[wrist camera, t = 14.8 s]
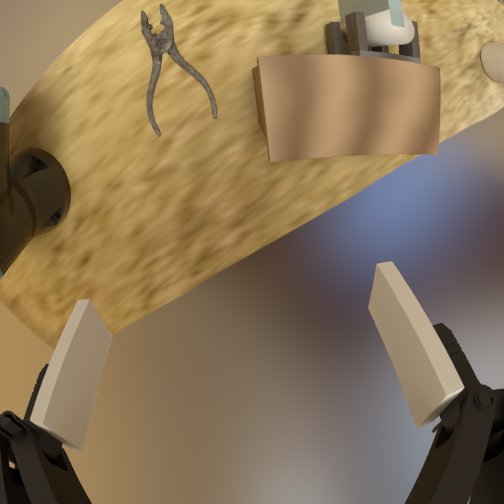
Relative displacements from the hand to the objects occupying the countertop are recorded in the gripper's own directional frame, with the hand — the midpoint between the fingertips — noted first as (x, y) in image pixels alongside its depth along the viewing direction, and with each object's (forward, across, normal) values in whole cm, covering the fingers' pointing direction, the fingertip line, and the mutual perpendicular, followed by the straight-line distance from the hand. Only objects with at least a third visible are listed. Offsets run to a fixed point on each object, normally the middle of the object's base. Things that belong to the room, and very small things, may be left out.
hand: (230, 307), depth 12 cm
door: (+32, +18, +19) cm, 41 cm away
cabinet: (+32, +13, +9) cm, 35 cm away
